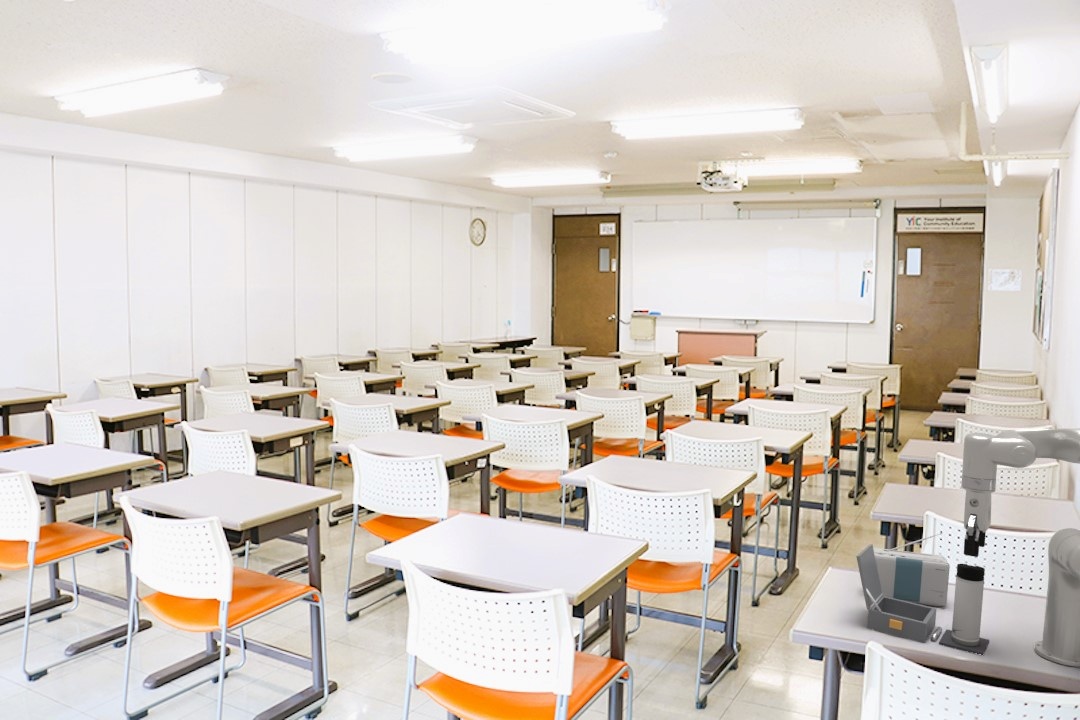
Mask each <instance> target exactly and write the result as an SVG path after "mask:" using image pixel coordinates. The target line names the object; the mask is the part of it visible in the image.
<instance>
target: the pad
mask: <svg viewBox="0 0 1080 720" xmlns="http://www.w3.org/2000/svg"><path fill="white" fill-rule="evenodd" d="M951 635H952V629H951V630H950V629H948V628H946V629H945V631H944V633H943V635H942V637H941V638H939V639H940V640H939V642H938V645H939V646H943V645H944V647H948V648H952V649H955V648H956V650H958V651H962V652H967V651H968V652H967V653H971V652H973V653H972V654H974V653H977V654H976V655H978V654H981V655H980V656H982V655H983V654H984V655H985V653H986V650H987V648H988V645H989V643H990V639H988V638H983V637H981V636H980V637H979V644H978V645H977V646H964V645H961V644H958V643H956V642H954V641H953V640H952V639H951ZM984 652H985V653H984ZM984 655H983V656H984Z"/></svg>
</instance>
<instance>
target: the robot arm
mask: <svg viewBox="0 0 1080 720" xmlns="http://www.w3.org/2000/svg"><path fill="white" fill-rule="evenodd" d="M962 456H963V457H962V470H961V471H962V472H961V489H962V490H965V497H964V499H965V500H964V516H963V528H964V529H965V537H964V540H963V541H964V543H963V544H964V545H963V555H964V556H969V557H974V558H978V557H979V554H980V553H979V552H980V547H981V548H984V547H985V546H986V534H987V533H986V532H987V531H988V530H989V528H990V527H991V524H992V493H995V492H996V489H997V488H996V486H997V485H996V484H997V470H998V466H1005V467H1010V468H1015V469H1016V468H1017V469H1023V468H1027V467H1029V466H1031V465H1033V463H1035V461H1036V459H1051V460H1059V461H1063V462H1066V463H1070V464H1071V463H1072V464H1079V465H1080V428H1026V429H1011V430H1004V431H1002V432H999V433H998V434H996V435H993V434H989V433H982V432H970V433H967V434H966V435H965V436H964V440H963V455H962ZM1047 550H1048V551H1047V554H1048V555H1047V556H1048V578H1047V579H1048V580H1047V581H1048V582H1047V590H1046V601H1045V612H1044V621H1043V632H1042V640H1039V641H1037V642H1035V644H1034V646H1033V647H1034V651H1035V652H1036V653H1037V654H1038V655H1039V656H1040V657H1042V658H1043V659H1046V660H1048V661H1051V662H1053V663H1057V664H1061V665H1063V666H1069V667H1075V668H1076V667H1077V668H1080V530H1079V529H1077V528H1072V527H1071V528H1069V527H1068V528H1063V529H1062V528H1061V529H1060V530H1058V531H1057V532H1055V533H1054V534H1053V535H1052V536H1051V538H1050V540H1049V543H1048V548H1047Z"/></svg>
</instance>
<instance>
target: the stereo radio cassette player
mask: <svg viewBox="0 0 1080 720" xmlns="http://www.w3.org/2000/svg"><path fill="white" fill-rule="evenodd" d="M939 535H941V536H942V535H943V533H942V532H939V533H937V534H935V535H932V536H931V535H930V536H928V537H924V538H921V539H918V540H915V541H912V542H908V543H905V544H901V545H899V546H897V547H894V548H890V549H888V548H880V547H873V550H874V554H875V559H876V564H877V569H878V574H879V579H880V584H881V589H882V593H883V596H886V597H890V598H895V599H899V600H903V601H907V602H912V603H916V604H920V605H925V606H927V605H928V606H935V607H938V606H939V608H940V606H941V607H943V606H945V605H946V604H947V602H948V601H947V600H948V590H949V578H950V567H951V566H950V564H949V562H948V560H947V558H946V557H945V556H944V555H938V554H933V553H932V554H931V553H923V552H913V551H907V550H906V551H905V550H899V549H901V548H904V547H907V546H910V545H915V544H916V543H919V542H922V541H925V540H927V539H932V538H934V537H937V536H939Z"/></svg>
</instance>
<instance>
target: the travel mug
mask: <svg viewBox="0 0 1080 720" xmlns="http://www.w3.org/2000/svg"><path fill="white" fill-rule="evenodd" d="M985 570H986V569H985V568H984V567H982V566H980V565H975V566H974V565H972V564H971V565H970V564H969V565H968V564H967V563H957V567H956V575H955V586H954V587H955V588H954V598H953V600H954V601H953V612H952V613H953V614H952V624H951V625H952V626H951V630H952V635H951V639H952V640H953V641H954V642H956V643H958V644H961V645H964V646H977V645H978V644H979V637H980V638H981V636H980V635H981V634H980V633H981V626H982V625H981V623H982V611H983V609H982V608H983V599H984V598H983V597H984V586H985Z"/></svg>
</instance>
